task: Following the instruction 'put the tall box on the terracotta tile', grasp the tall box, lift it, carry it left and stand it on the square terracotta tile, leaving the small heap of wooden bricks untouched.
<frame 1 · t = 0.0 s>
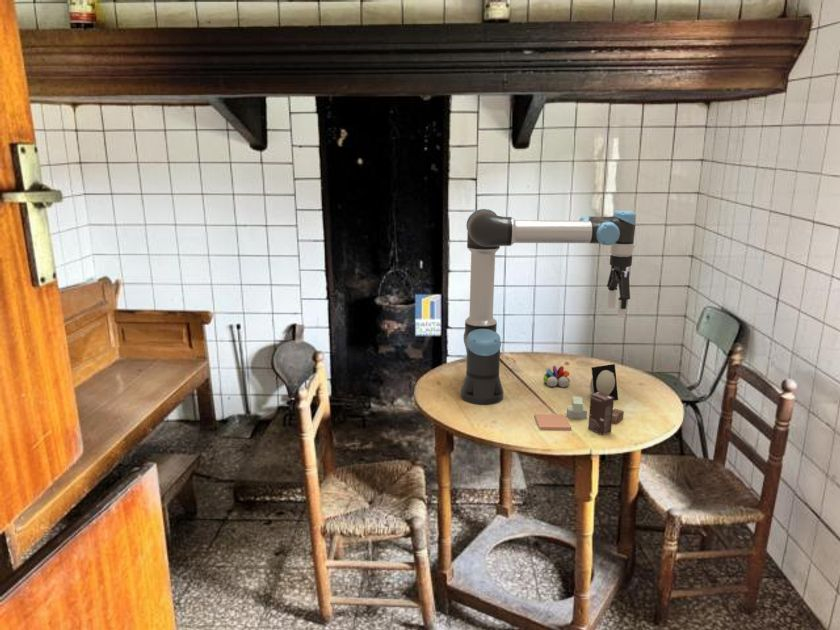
hand: (616, 312, 233), 28 cm above the table, fingers open, 13 cm apart
pale green brick: (577, 408, 211), point 3 cm above the table, touching grey brick
decorative object: (599, 398, 227), on the table
tile: (552, 423, 206), on the table
rainbow disc rolling toy: (556, 384, 240), on the table
walnut brick: (614, 420, 209), on the table
box: (599, 431, 201), on the table
grey brick: (576, 417, 211), on the table, touching pale green brick
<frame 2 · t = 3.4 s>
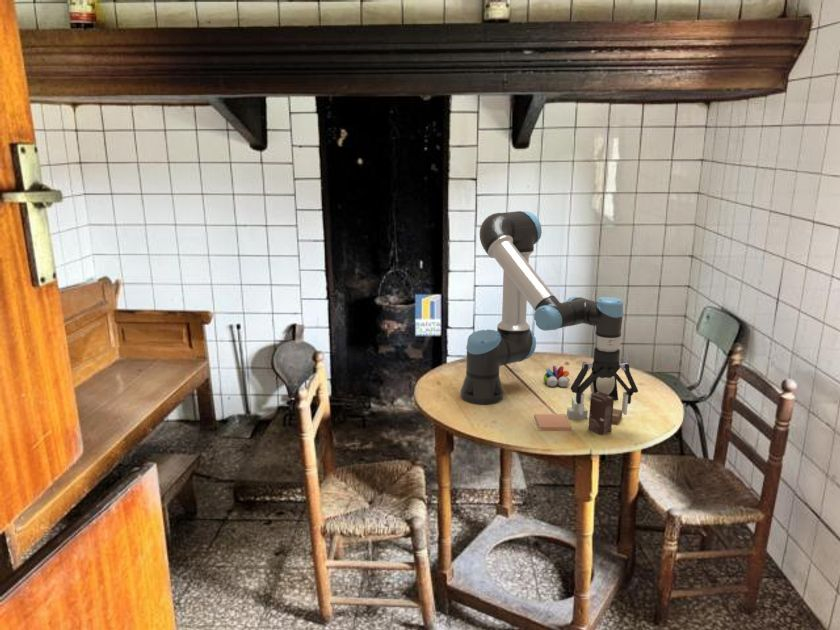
hand: (602, 413, 199), 6 cm above the table, fingers open, 13 cm apart
nothing on the table moved.
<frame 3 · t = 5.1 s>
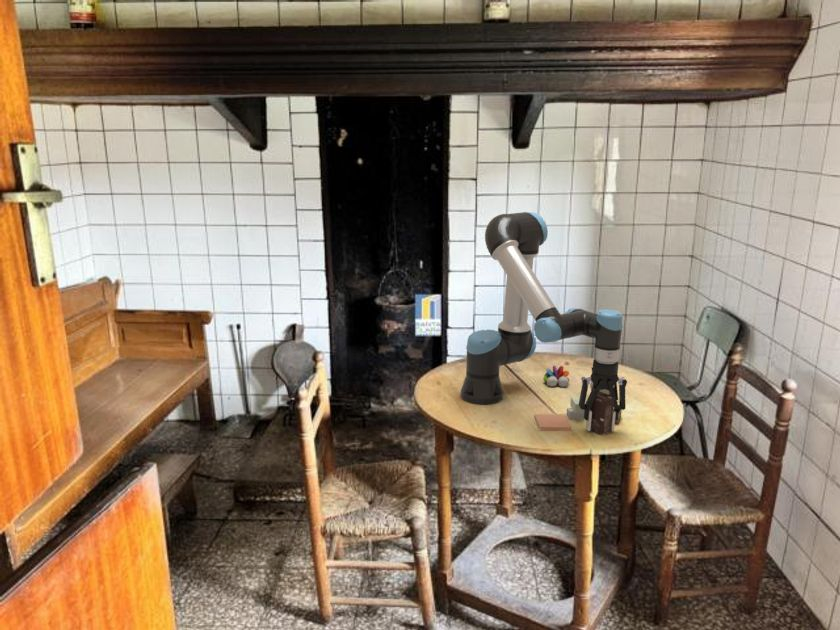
hand: (599, 429, 201), 1 cm above the table, fingers closed on box, 7 cm apart
box: (599, 431, 201), on the table, touching gripper
everything else where it was.
when the fingers open (2 cm above the table, at t = 10.7 s): box stays where it is, resting on tile.
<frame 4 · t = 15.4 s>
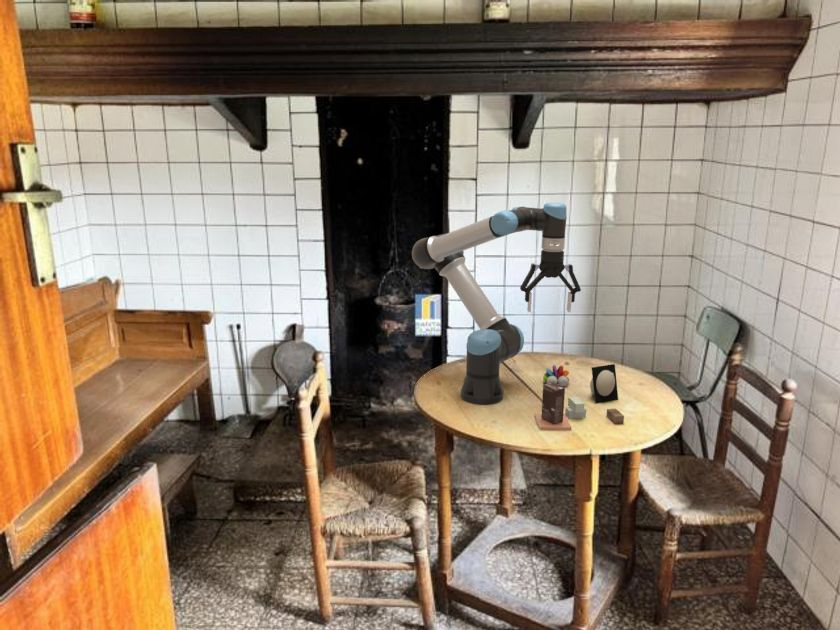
hand: (548, 311, 219), 32 cm above the table, fingers open, 13 cm apart
box: (551, 421, 206), point 1 cm above the table, touching tile
at the end: box inside the target area on the tile (0.2 cm from its centre), point 0.8 cm above the tile's base; box tilted 0°; pale green brick moved 0.5 cm from its start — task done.
